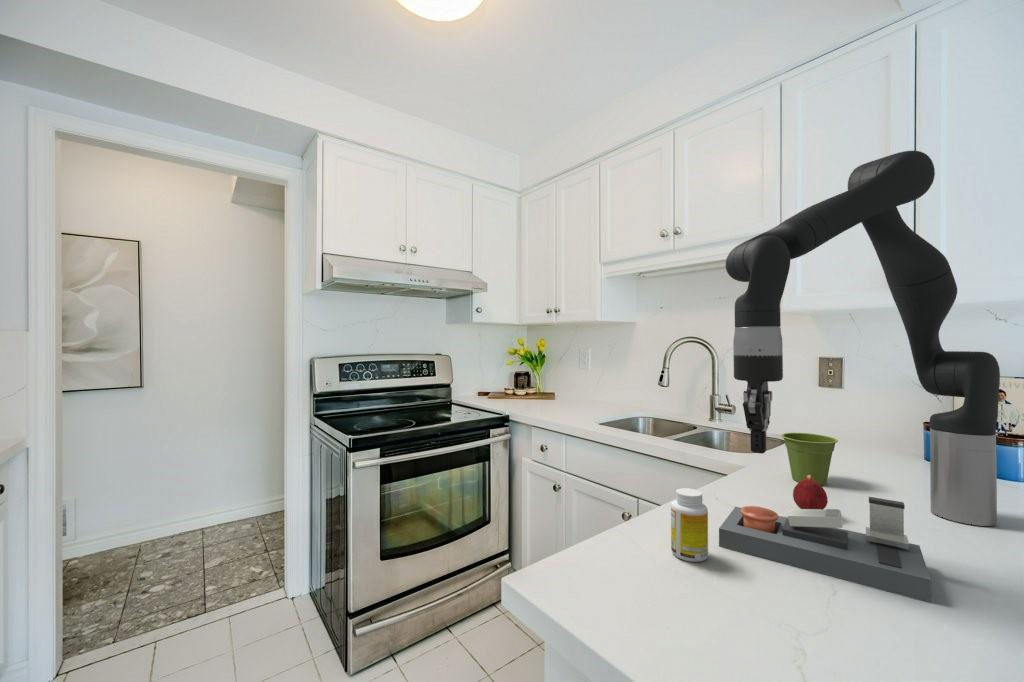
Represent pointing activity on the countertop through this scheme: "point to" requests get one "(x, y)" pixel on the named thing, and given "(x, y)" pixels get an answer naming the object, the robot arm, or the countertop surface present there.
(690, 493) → the supplement bottle
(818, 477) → the plant pot
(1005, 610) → the countertop surface
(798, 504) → the onion
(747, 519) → the push button
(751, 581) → the countertop surface
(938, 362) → the robot arm
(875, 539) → the slide paddle
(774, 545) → the control panel
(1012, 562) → the countertop surface
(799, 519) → the rocker switch
